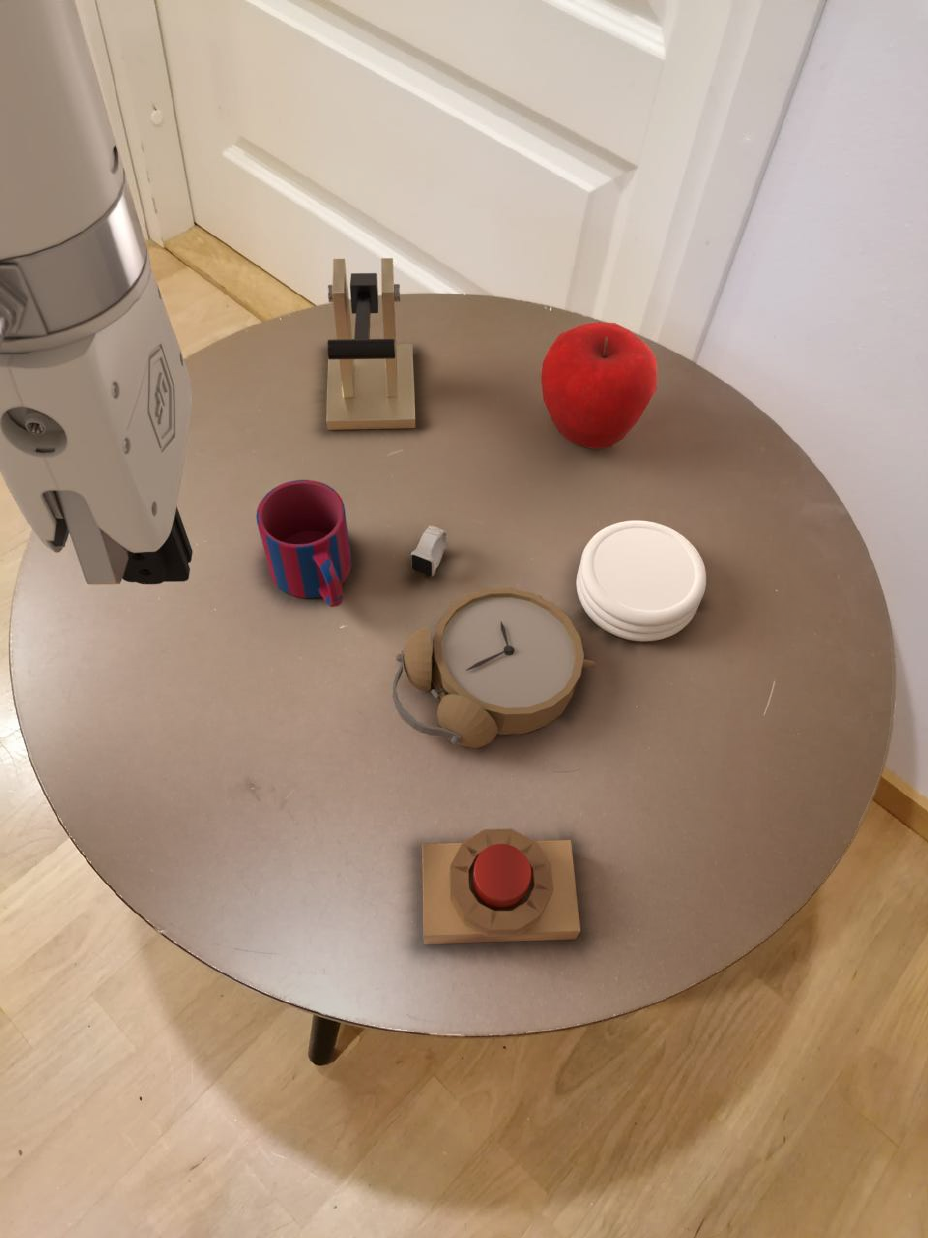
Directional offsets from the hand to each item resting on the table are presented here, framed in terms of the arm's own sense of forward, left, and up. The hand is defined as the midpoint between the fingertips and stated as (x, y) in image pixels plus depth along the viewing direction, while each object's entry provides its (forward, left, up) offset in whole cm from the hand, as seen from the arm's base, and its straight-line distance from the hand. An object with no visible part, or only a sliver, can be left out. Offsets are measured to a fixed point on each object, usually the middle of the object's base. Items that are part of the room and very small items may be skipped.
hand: (159, 568), depth 46 cm
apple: (+43, +7, -25) cm, 50 cm away
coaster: (+33, -8, -25) cm, 42 cm away
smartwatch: (+22, +5, -25) cm, 34 cm away
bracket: (+31, +24, -25) cm, 47 cm away
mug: (+14, +10, -25) cm, 31 cm away
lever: (+28, +20, -14) cm, 37 cm away
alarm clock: (+18, -6, -25) cm, 32 cm away
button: (+8, -19, -21) cm, 29 cm away
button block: (+8, -19, -25) cm, 32 cm away
